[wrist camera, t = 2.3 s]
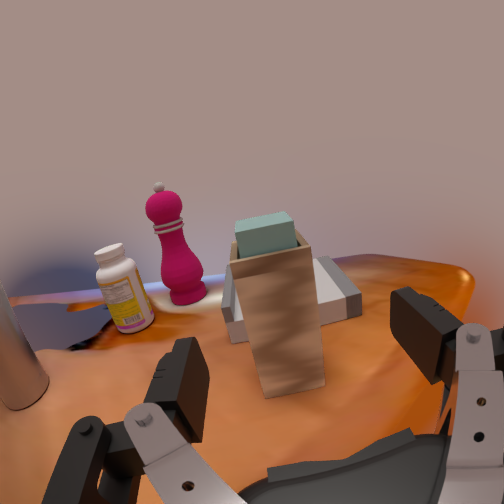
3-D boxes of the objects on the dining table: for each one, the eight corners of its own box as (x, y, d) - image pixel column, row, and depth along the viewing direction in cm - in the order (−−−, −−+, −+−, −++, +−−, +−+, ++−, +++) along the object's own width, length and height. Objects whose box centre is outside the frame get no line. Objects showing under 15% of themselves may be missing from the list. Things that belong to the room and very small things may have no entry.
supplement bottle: (135, 312, 45) (110, 242, 41) (163, 314, 43) (137, 238, 39) (110, 332, 39) (80, 257, 35) (137, 337, 37) (105, 254, 33)
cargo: (244, 273, 20) (234, 232, 19) (243, 255, 23) (235, 221, 23) (300, 262, 20) (293, 220, 19) (290, 246, 23) (284, 211, 22)
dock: (231, 343, 32) (221, 308, 30) (234, 293, 45) (226, 264, 44) (361, 314, 31) (360, 277, 30) (329, 272, 45) (326, 244, 43)
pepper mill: (202, 283, 52) (174, 178, 46) (215, 296, 46) (184, 174, 40) (166, 296, 49) (134, 189, 43) (174, 311, 43) (137, 187, 37)
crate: (265, 398, 22) (229, 263, 19) (261, 361, 28) (232, 241, 24) (325, 386, 22) (310, 246, 18) (312, 350, 28) (295, 228, 24)
